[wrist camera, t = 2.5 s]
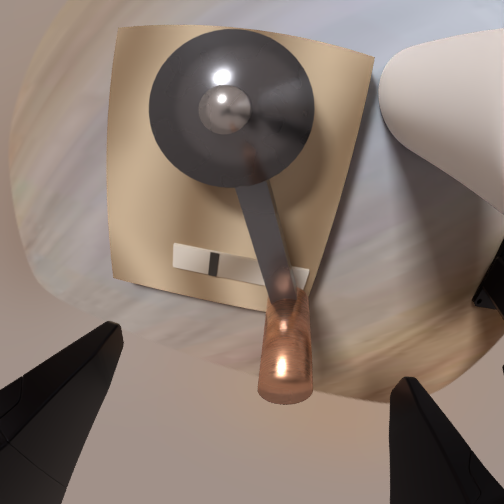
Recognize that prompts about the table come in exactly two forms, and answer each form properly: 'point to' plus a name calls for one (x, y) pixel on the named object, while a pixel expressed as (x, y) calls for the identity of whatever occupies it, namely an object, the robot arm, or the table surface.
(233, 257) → the stand
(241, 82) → the lever
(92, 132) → the table surface
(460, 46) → the can
